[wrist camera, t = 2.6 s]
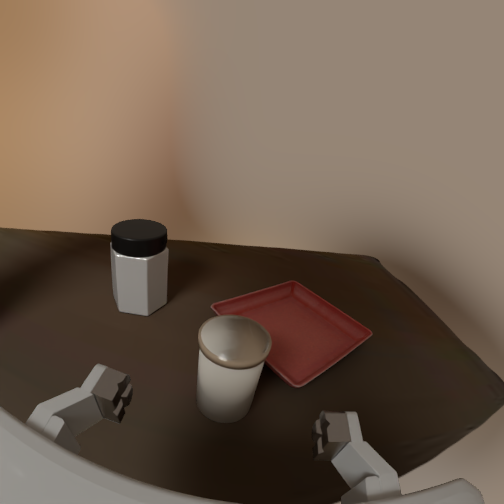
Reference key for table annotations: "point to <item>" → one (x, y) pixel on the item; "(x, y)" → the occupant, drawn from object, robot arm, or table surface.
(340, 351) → the plant saucer
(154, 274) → the jar
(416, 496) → the robot arm
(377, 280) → the table surface
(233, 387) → the canister
